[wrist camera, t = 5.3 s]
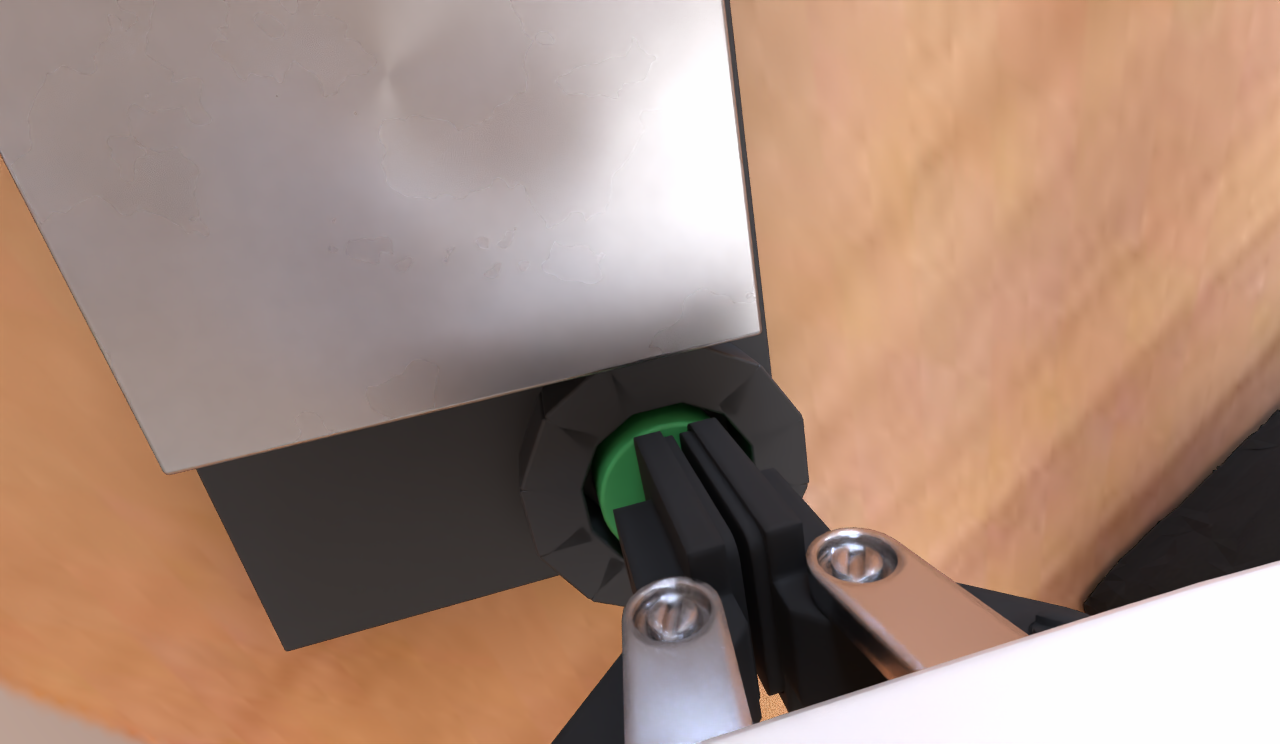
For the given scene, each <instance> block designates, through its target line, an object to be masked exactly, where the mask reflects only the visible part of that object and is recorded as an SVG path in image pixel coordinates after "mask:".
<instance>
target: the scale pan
mask: <svg viewBox="0 0 1280 744" xmlns="http://www.w3.org/2000/svg"><path fill="white" fill-rule="evenodd" d="M0 155H1V156H2V158H3V160H4V162H5V164H6V166H7V168H8V170H9V172H10V174H11V176H12V178H13V180H14V182H15V184H16V186H17V188H18V190H19V192H20V194H21V195H22V197H23V199H24V201H25V203H26V205H27V207H28V209H29V211H30V213H31V215H32V217H33V219H34V221H35V223H36V225H37V227H38V229H39V231H40V233H41V234H42V236H43V238H44V240H45V242H46V244H47V246H48V248H49V250H50V252H51V254H52V256H53V258H54V260H55V262H56V264H57V266H58V268H59V270H60V272H61V273H62V275H63V277H64V279H65V281H66V283H67V285H68V287H69V289H70V291H71V293H72V295H73V297H74V299H75V301H76V303H77V305H78V307H79V309H80V311H81V312H82V314H83V316H84V318H85V320H86V322H87V324H88V326H89V328H90V330H91V332H92V334H93V336H94V338H95V340H96V342H97V344H98V346H99V348H100V350H101V351H102V353H103V355H104V357H105V359H106V361H107V363H108V365H109V367H110V369H111V371H112V373H113V375H114V377H115V379H116V381H117V383H118V385H119V387H120V389H121V390H122V392H123V394H124V396H125V398H126V400H127V402H128V404H129V406H130V408H131V410H132V412H133V414H134V416H135V418H136V420H137V422H138V424H139V426H140V428H141V429H142V431H143V433H144V435H145V437H146V439H147V441H148V443H149V445H150V447H151V449H152V451H153V453H154V455H155V457H156V459H157V461H158V463H159V465H160V467H161V468H162V470H163V472H164V473H165V474H166V475H172V474H177V473H181V472H185V471H189V470H193V469H197V468H202V467H206V466H210V465H214V464H218V463H223V462H227V461H231V460H235V459H239V458H244V457H248V456H252V455H256V454H260V453H265V452H269V451H273V450H277V449H281V448H286V447H290V446H294V445H298V444H302V443H307V442H311V441H315V440H319V439H323V438H328V437H332V436H336V435H340V434H344V433H349V432H353V431H357V430H361V429H365V428H370V427H374V426H378V425H382V424H386V423H390V422H395V421H399V420H403V419H407V418H411V417H416V416H420V415H424V414H428V413H432V412H437V411H441V410H445V409H449V408H453V407H458V406H462V405H466V404H470V403H474V402H479V401H483V400H487V399H491V398H495V397H500V396H504V395H508V394H512V393H516V392H521V391H525V390H529V389H533V388H537V387H542V386H546V385H550V384H554V383H558V382H563V381H567V380H571V379H575V378H579V377H583V376H588V375H592V374H596V373H600V372H604V371H609V370H613V369H617V368H621V367H625V366H630V365H634V364H638V363H642V362H646V361H651V360H655V359H659V358H663V357H667V356H672V355H676V354H680V353H684V352H688V351H693V350H697V349H701V348H705V347H709V346H714V345H718V344H722V343H726V342H730V341H735V340H739V339H743V338H747V337H751V336H756V335H759V334H760V333H761V331H762V326H761V317H760V309H759V300H758V291H757V282H756V274H755V265H754V256H753V248H752V239H751V230H750V221H749V213H748V204H747V195H746V186H745V178H744V169H743V160H742V151H741V143H740V134H739V125H738V117H737V108H736V99H735V90H734V82H733V73H732V64H731V55H730V47H729V38H728V29H727V21H726V12H725V3H724V0H0Z"/></svg>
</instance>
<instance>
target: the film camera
mask: <svg viewBox="0 0 1280 744" xmlns="http://www.w3.org/2000/svg"><path fill="white" fill-rule="evenodd" d="M1276 561H1280V410H1277V411H1276V412H1275V413H1274V414H1273V415H1272V416H1271V417H1270V418H1269V420H1268V421H1267V422H1266V423H1265V424H1264V425H1261V427H1260V428H1259V430H1258V431H1257V432H1255V433H1253V434H1251V435H1250V436H1249V437H1248V438H1247V439H1246V440H1245V441H1244V442H1243V443H1242V444H1241V445H1240V446H1239V447H1238V448H1237V449H1236V450H1235V451H1234V452H1233V453H1232V454H1231V455H1230V456H1229V457H1228V458H1227V459H1226V461H1225V462H1224V463H1223V464H1222V465H1221V466H1217V470H1213V473H1212V474H1211V475H1210V476H1209V477H1207V478H1206V479H1205V480H1204V481H1203V483H1202V484H1201V485H1200V486H1199V487H1198V488H1196V489H1195V490H1194V491H1193V492H1192V493H1191V494H1190V495H1189V496H1188V497H1187V498H1186V499H1185V500H1184V501H1183V502H1182V504H1181V505H1180V506H1179V507H1177V508H1176V509H1175V510H1174V511H1173V512H1171V513H1170V514H1169V515H1168V516H1166V517H1165V518H1164V519H1163V520H1162V521H1159V522H1158V523H1157V525H1156V526H1155V527H1154V528H1153V529H1152V530H1150V531H1149V532H1148V533H1147V534H1146V535H1145V536H1144V537H1143V538H1142V540H1141V541H1140V542H1139V543H1138V544H1137V545H1136V546H1135V547H1134V548H1133V549H1131V550H1130V551H1129V552H1128V553H1127V554H1126V555H1125V556H1124V557H1122V558H1121V559H1120V560H1119V561H1118V563H1117V564H1116V565H1115V566H1114V568H1113V569H1112V570H1111V571H1110V572H1109V573H1108V574H1107V575H1106V577H1105V578H1104V579H1103V580H1102V581H1101V582H1100V583H1099V584H1098V586H1097V587H1096V588H1095V590H1094V591H1093V593H1092V594H1091V595H1090V597H1089V598H1088V599H1087V600H1086V601H1085V603H1084V610H1085V613H1086V614H1088V615H1090V616H1093V615H1096V614H1099V613H1101V612H1106V611H1109V610H1112V609H1115V608H1118V607H1122V606H1125V605H1128V604H1131V603H1134V602H1138V601H1141V600H1144V599H1148V598H1151V597H1154V596H1157V595H1161V594H1164V593H1167V592H1171V591H1174V590H1177V589H1180V588H1183V587H1186V586H1189V585H1193V584H1196V583H1199V582H1203V581H1206V580H1210V579H1214V578H1218V577H1221V576H1225V575H1229V574H1232V573H1236V572H1240V571H1243V570H1247V569H1251V568H1254V567H1258V566H1262V565H1265V564H1269V563H1273V562H1276Z"/></svg>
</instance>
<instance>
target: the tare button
mask: <svg viewBox="0 0 1280 744" xmlns="http://www.w3.org/2000/svg"><path fill="white" fill-rule="evenodd" d="M709 418H710V416H709V415H707V414H706V413H705V412H704V411H703V410H702V409H700V408H698V407H695V406H691V405H687V404H684V403H678V404H674V405H670V406H666V407H662V408H658V409H654V410H650V411H646V412H642V413H638V414H634V415H632V416H631V417H630V418H628V419H627V420H626V421H625V422H624V423H623V424H622V425H621V426H619V427H618V428H617V429H616V430H615V431H614V432H613V433H611V434H610V435H609V436H608V437H607V438H606V439H605V440H604V441H602V442H601V443H600V444H599V445H598V446H597V449H596V452H595V454H594V457H593V460H592V463H591V470H592V477H593V481H594V485H595V489H596V492H597V496H598V500H599V504H600V508H601V511H602V514H603V517H604V520H605V522H606V524H607V526H608V527H609V529H610V530H611V532H612V533H613V534H614V535H615V536H616V537H617V538H618V539H619V536H618V532H617V528H616V523H615V519H614V514H613V509H617V508H621V507H625V506H628V505H632V504H636V503H640V502H643V501H646V500H645V495H644V490H643V485H642V481H641V476H640V471H639V466H638V461H637V456H636V451H635V446H634V440H633V438H634V437H637V436H641V435H645V434H649V433H653V432H657V431H661V433H662V435H663V436H664V437H667V436H671V435H672V436H673V437H674V439H675V440H676V442H677V444H678V445H679V447H680V449H681V445H680V438H679V434H680V433H682V432H686V431H687V425H688V424H689V423H693V422H697V421H701V420H705V419H709Z"/></svg>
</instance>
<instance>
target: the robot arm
mask: <svg viewBox="0 0 1280 744" xmlns="http://www.w3.org/2000/svg"><path fill="white" fill-rule="evenodd" d="M679 438H680V445H681V449H680V447H679V445H678V444H677V442H676V440H675V439H674V437H673V436H672V435H671V436H667V437H664V436H663V435H662V433H661V431H657V432H653V433H649V434H645V435H641V436H637V437H634V438H633V440H634V446H635V451H636V456H637V461H638V466H639V471H640V476H641V481H642V485H643V490H644V495H645V500H646V501H643V502H640V503H636V504H632V505H628V506H625V507H621V508H617V509H613V514H614V519H615V523H616V528H617V532H618V536H619V541H620V545H621V549H622V554H623V558H624V562H625V566H626V570H627V574H628V578H629V582H630V585H631V589H632V593H633V595H632V596H631V597H630V599H629V600H628V602H627V604H626V605H625V607H624V610H623V615H622V654H621V655H620V656H619V657H618V659H617V660H616V661H615V663H614V664H613V665H612V666H611V668H610V669H609V670H608V671H607V673H606V674H605V675H604V677H603V678H602V679H601V680H600V682H599V683H598V684H597V686H596V687H595V688H594V689H593V691H592V692H591V693H590V695H589V696H588V697H587V698H586V700H585V701H584V702H583V703H582V705H581V706H580V707H579V709H578V710H577V711H576V712H575V714H574V715H573V716H572V718H571V719H570V720H569V721H568V723H567V724H566V725H565V726H564V728H563V729H562V730H561V732H560V733H559V734H558V735H557V737H556V738H555V739H554V741H553V742H552V743H551V744H1280V561H1276V562H1273V563H1269V564H1265V565H1262V566H1258V567H1254V568H1251V569H1247V570H1243V571H1240V572H1236V573H1232V574H1229V575H1225V576H1221V577H1218V578H1214V579H1210V580H1206V581H1203V582H1199V583H1196V584H1193V585H1189V586H1186V587H1183V588H1180V589H1177V590H1174V591H1171V592H1167V593H1164V594H1161V595H1157V596H1154V597H1151V598H1148V599H1144V600H1141V601H1138V602H1134V603H1131V604H1128V605H1125V606H1122V607H1118V608H1115V609H1112V610H1109V611H1106V612H1101V613H1099V614H1096V615H1093V616H1090V615H1088V614H1086V613H1083V612H1080V611H1077V610H1073V609H1070V608H1067V607H1063V606H1058V605H1054V604H1049V603H1045V602H1040V601H1036V600H1032V599H1027V598H1023V597H1018V596H1014V595H1009V594H1005V593H1000V592H996V591H992V590H987V589H983V588H978V587H974V586H969V585H965V584H960V583H956V582H954V581H953V580H951V579H950V578H948V577H947V576H946V575H944V574H943V573H941V572H940V571H939V570H937V569H936V568H935V567H933V566H932V565H930V564H929V563H928V562H926V561H925V560H923V559H922V558H921V557H919V556H918V555H916V554H915V553H914V552H912V551H911V550H909V549H908V548H907V547H905V546H904V545H902V544H901V543H900V542H898V541H897V540H895V539H893V538H892V537H890V536H888V535H886V534H884V533H881V532H878V531H875V530H871V529H865V528H856V527H852V528H839V529H836V530H832V531H831V530H830V529H829V528H828V527H827V526H826V525H825V524H824V522H823V521H822V520H821V519H820V518H819V517H818V516H817V515H816V513H815V512H814V511H813V510H812V509H811V508H810V507H809V506H808V505H807V503H806V502H805V501H804V500H803V499H802V498H801V497H800V496H799V494H798V493H797V492H796V491H795V490H794V489H793V488H792V487H791V486H790V484H789V483H788V482H787V481H786V480H785V479H784V478H783V477H782V475H781V474H780V473H779V472H778V471H777V470H776V469H774V468H767V469H763V470H760V471H759V469H758V468H757V467H756V466H755V465H754V463H753V462H752V461H751V460H750V459H749V457H748V456H747V455H746V454H745V453H744V451H743V450H742V449H741V448H740V447H739V445H738V444H737V443H736V442H735V441H734V439H733V438H732V437H731V436H730V435H729V433H728V432H727V431H726V430H725V429H724V427H723V426H722V425H721V424H720V423H719V421H718V420H717V419H716V418H715V417H713V418H709V419H705V420H701V421H697V422H693V423H689V424H688V425H687V431H686V432H682V433H680V434H679ZM757 674H758V676H759V678H760V680H761V682H762V685H763V687H764V689H765V691H766V692H767V694H768V695H769V696H771V695H774V694H777V693H779V695H780V697H781V699H782V700H783V702H784V704H785V706H786V708H787V710H788V712H789V713H786V714H783V715H780V716H777V717H774V718H771V719H768V720H765V721H762V722H760V720H761V718H762V716H761V709H760V702H759V699H760V691H759V685H758V678H757Z"/></svg>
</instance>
